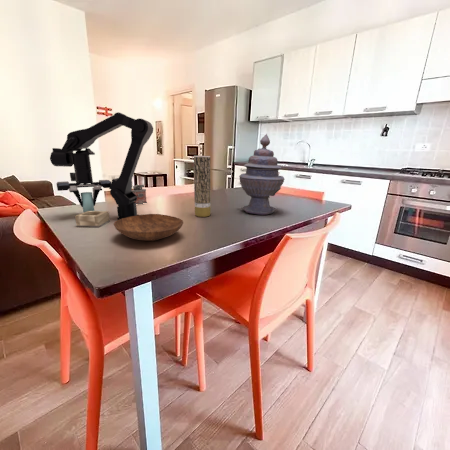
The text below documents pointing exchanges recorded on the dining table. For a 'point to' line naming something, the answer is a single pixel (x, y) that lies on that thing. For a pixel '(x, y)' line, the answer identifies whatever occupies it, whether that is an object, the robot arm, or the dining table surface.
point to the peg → (87, 201)
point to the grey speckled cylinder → (202, 186)
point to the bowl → (148, 226)
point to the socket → (92, 219)
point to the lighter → (139, 194)
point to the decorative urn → (261, 179)
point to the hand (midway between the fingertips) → (88, 206)
